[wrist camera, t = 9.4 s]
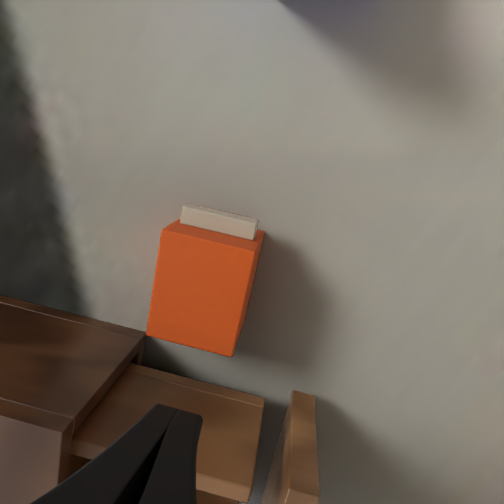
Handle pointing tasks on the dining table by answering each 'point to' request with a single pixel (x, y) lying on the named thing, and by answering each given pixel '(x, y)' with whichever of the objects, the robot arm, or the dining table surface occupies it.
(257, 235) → the orange block
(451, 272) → the dining table surface
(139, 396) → the drawer
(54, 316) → the cabinet
